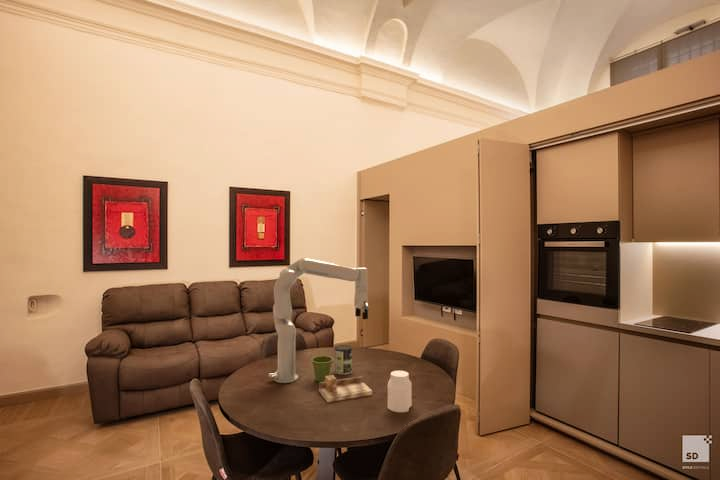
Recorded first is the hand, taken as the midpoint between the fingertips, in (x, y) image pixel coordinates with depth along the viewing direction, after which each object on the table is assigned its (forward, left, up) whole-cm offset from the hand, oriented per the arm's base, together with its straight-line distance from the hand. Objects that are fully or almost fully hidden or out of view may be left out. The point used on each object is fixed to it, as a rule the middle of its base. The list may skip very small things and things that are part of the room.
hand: (361, 317), depth 218 cm
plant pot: (-26, -7, -31) cm, 41 cm away
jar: (-3, -53, -31) cm, 61 cm away
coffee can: (-11, +1, -31) cm, 33 cm away
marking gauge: (-28, -30, -29) cm, 50 cm away
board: (-21, -29, -31) cm, 47 cm away
